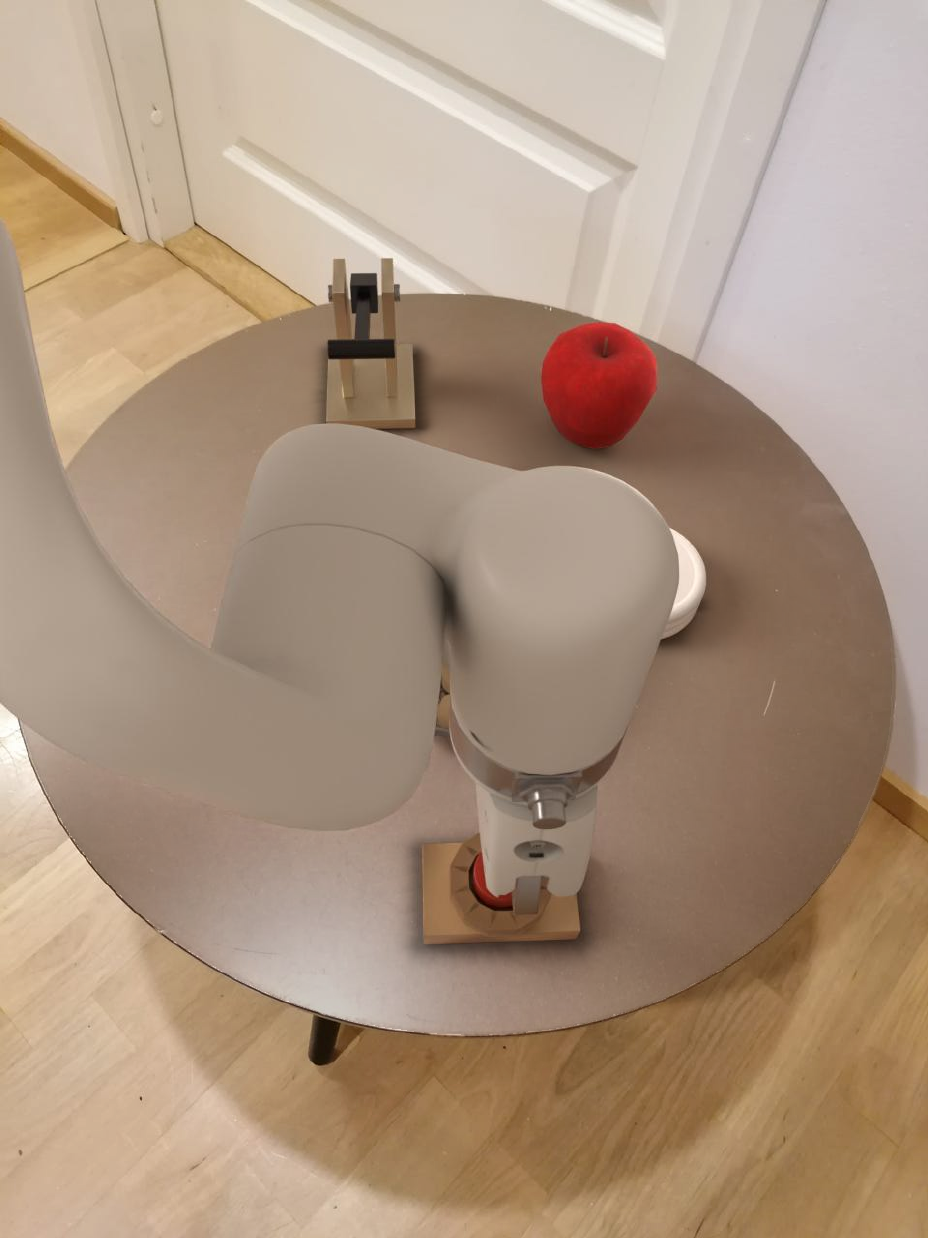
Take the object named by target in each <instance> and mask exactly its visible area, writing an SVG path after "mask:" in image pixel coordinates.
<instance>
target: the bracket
mask: <svg viewBox="0 0 928 1238" xmlns="http://www.w3.org/2000/svg"><path fill="white" fill-rule="evenodd" d="M380 269H381V270H380V278H381V279H380V283H381V285H380V287H381V309H382V310H381V311H382V326H383V327H382V329H383V330H382V331H383V339H394V340H395V358H394V359H335V360H330V359H329V358H328V357H327V383H326V384H327V385H326V411H325V412H326V414H325V416H326V417H325V422H326V423H325V424H328V423H339V424H347V425H356V426H363V427H367V428H372V429H376V430H390V429H391V430H392V429H396V430H397V429H398V430H399V429H416V408H415V405H416V403H415V381H414V379H415V378H414V356H413V355H414V353H413V352H414V351H413V350H414V349H413V344H412V343H397V328H396V327H397V325H396V323H397V322H396V303H397V302H398V303H399V302H401V284H400V283H395V275H394V274H395V272H394V258H393V257H381V258H380ZM327 300H328V303H333V314H334V324H335V332H336V340H340V339H353V334H352V333H353V332H352V321H351V320H352V319H351V311H350V310H351V307H350V297H349V288H348V276H347V264H346V258H333V259H332V284H328V285H327Z"/></svg>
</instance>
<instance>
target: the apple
mask: <svg viewBox="0 0 928 1238" xmlns="http://www.w3.org/2000/svg"><path fill="white" fill-rule="evenodd" d="M657 363H658V361H657V357H656V355H655V354H654V352H653V351H652V350H651V348H650V347H649V345H648V344H646V342H644V341H643V340H642V339H640V338H639V337H638V336H637V335H636V334H635V333H633V332H632V331H631V330H630V329H628V328H626V327H624V326H622V325H620V324H617V323H615V322H604V321H603V322H602V321H599V322H589V323H584V324H583V323H582V324H581V325H578V326H574V327H572V328H571V329H568V330H566V331H563V332H561V333H559V334H558V335H557V337H556V338H555V340H554V341H553V343H552V344H551V345H550V347H549V349H548V351H547V353H546V355H545V357H544V358H543V360H542V366H541V375H540V381H541V391H542V401H543V403H544V405H545V408H546V411H547V413H548V415H549V418H550V419H551V422H552V424H553V425H554V427H555V428H556V430H557V432H558V433H560V435H562V436H563V437H564V438H565V439H566V440H567V441H569V442H571V443H573V444H575V445H578V446H579V447H584V448H590V449H596V450H598V449H604V448H608V447H609V448H610V447H612V446H614V445H615V444H617V443H619V442H620V441H622V440H624V438H625V437H626V436H627V435H628V434H629V432H630V431H631V430H632V429H633V428H634V426H635V425H636V424H637V423H638V422H639V420H640V418H641V417H642V415H643V413H644V411H645V410H646V408H647V406H648V405H649V403H650V401H651V400H652V398H653V396H654V395H655V393H656V391H657V389H658V364H657Z"/></svg>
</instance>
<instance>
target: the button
mask: <svg viewBox="0 0 928 1238" xmlns="http://www.w3.org/2000/svg"><path fill="white" fill-rule="evenodd" d="M473 885H474V889H475V891H476V893H477V895H478V896H479V897H480V898H481V899H482V900H483V901H484V902H485V903H487V904H488V905H491V906H493V907H498V908H506V907H510V906H513V903H512V892H510V893H508V894H506V895H499V897H496V896H494V895H493V894H492V893H491V892H490V891H489V890H488V889H487V887H486V879H485V872H484V864H483V856H482V852H481V853H480V854H479V856H478V857H477V859H476V862H475V865H474V872H473Z"/></svg>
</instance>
